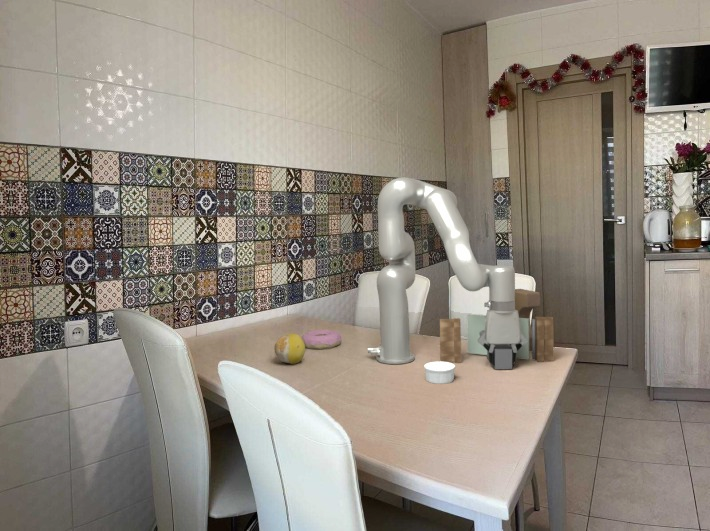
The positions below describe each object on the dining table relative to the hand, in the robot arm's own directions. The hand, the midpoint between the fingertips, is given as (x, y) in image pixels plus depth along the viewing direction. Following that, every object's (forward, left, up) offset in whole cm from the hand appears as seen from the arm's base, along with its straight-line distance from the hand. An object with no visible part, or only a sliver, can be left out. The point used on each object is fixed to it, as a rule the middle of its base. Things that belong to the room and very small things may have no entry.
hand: (502, 364), depth 159 cm
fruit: (-68, +8, -2) cm, 68 cm away
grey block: (0, +4, -1) cm, 4 cm away
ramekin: (-20, -11, -2) cm, 23 cm away
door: (+1, +11, -1) cm, 11 cm away
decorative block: (+12, +24, -1) cm, 27 cm away
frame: (0, +7, -1) cm, 7 cm away
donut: (-61, +32, -2) cm, 69 cm away
